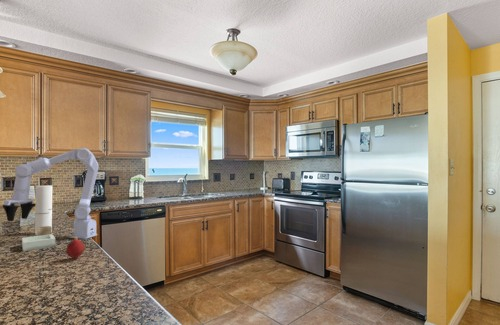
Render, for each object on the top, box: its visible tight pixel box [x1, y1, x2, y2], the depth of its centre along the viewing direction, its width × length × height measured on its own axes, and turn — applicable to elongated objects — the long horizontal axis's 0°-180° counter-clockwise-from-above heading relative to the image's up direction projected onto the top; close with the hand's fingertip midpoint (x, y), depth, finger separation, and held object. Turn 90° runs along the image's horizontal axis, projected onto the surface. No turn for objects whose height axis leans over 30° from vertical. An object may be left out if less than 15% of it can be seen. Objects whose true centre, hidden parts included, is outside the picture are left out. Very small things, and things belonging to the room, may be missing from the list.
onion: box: [65, 237, 86, 260], centre depth 105 cm, size 6×6×8 cm
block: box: [36, 226, 53, 236], centre depth 133 cm, size 5×5×6 cm
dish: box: [21, 233, 56, 252], centre depth 122 cm, size 11×11×4 cm
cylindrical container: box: [34, 184, 53, 236], centre depth 147 cm, size 7×7×25 cm
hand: (17, 219), depth 128 cm, fingers open, 7 cm apart
